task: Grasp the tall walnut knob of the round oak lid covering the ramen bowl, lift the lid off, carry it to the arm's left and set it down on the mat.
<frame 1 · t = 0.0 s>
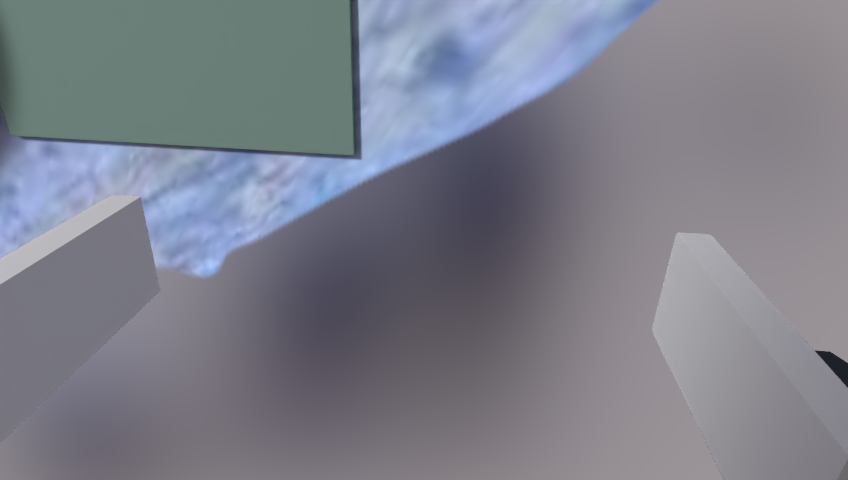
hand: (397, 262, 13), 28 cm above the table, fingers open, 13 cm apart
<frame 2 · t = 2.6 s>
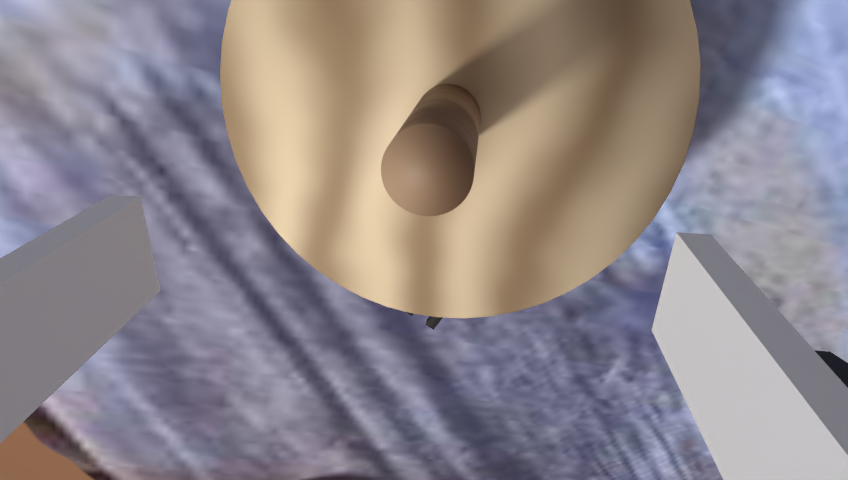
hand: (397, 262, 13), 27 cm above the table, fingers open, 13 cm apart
lid: (449, 113, 31), point 8 cm above the table, touching ramen bowl
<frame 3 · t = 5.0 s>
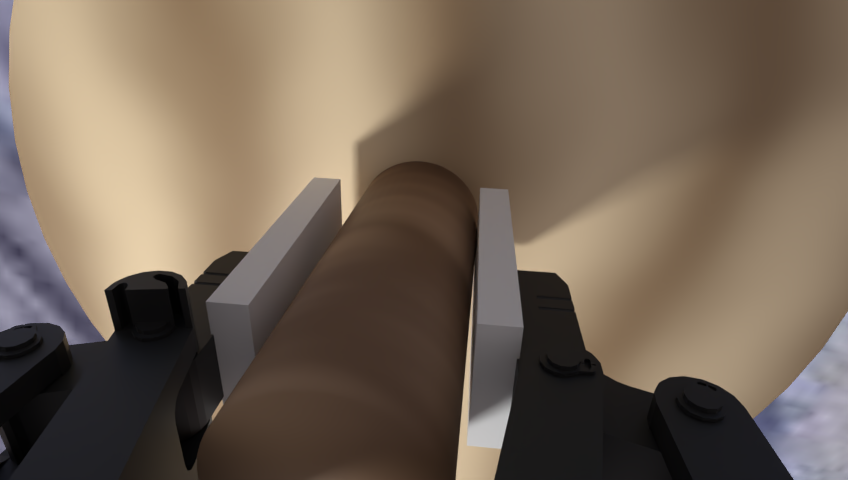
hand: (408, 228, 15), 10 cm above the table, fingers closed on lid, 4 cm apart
lid: (422, 206, 17), point 8 cm above the table, touching gripper, ramen bowl
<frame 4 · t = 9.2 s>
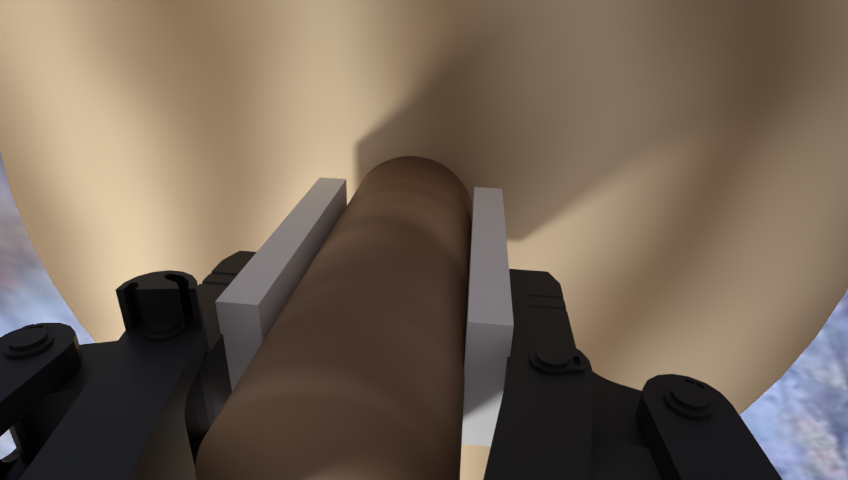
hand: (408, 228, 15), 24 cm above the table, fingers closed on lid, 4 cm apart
lid: (416, 201, 17), point 22 cm above the table, touching gripper
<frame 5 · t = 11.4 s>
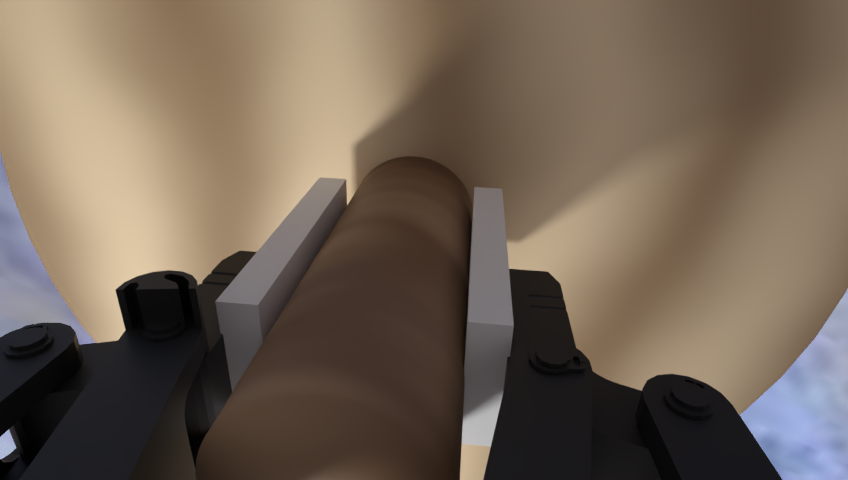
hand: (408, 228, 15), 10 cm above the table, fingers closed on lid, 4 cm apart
lid: (416, 202, 17), point 8 cm above the table, touching gripper
when the fingers open (5 cm above the table, at t = 13.2 s): lid drops 2 cm, resting on mat.
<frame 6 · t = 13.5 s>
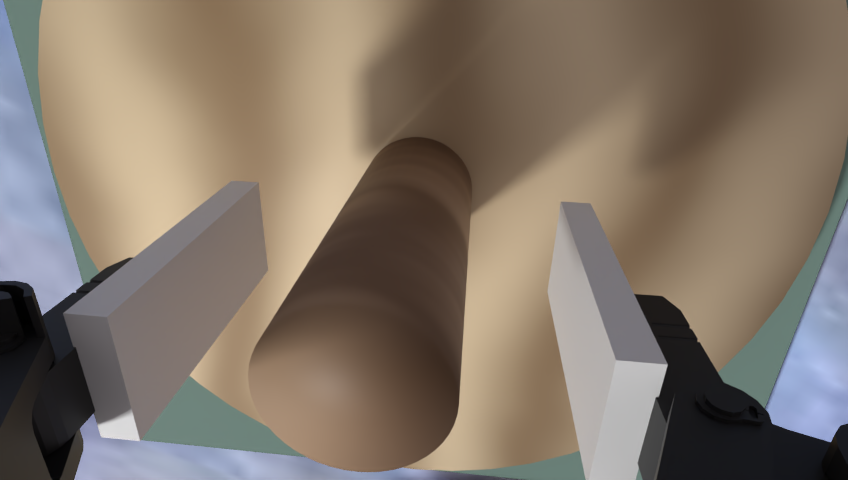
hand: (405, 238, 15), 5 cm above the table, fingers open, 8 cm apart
lid: (421, 180, 19), point 1 cm above the table, touching mat
mat: (424, 176, 20), on the table
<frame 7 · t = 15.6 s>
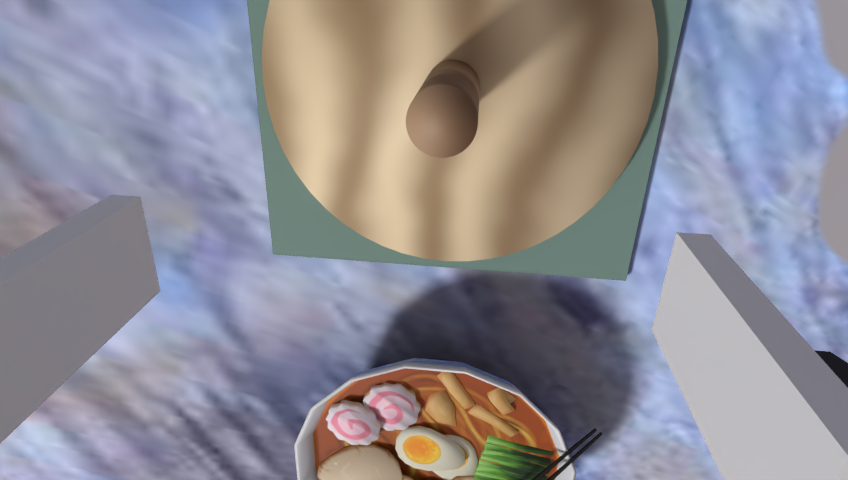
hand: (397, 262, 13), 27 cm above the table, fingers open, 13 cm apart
lid: (453, 85, 37), point 1 cm above the table, touching mat
mat: (454, 84, 37), on the table
ramen bowl: (438, 412, 50), on the table
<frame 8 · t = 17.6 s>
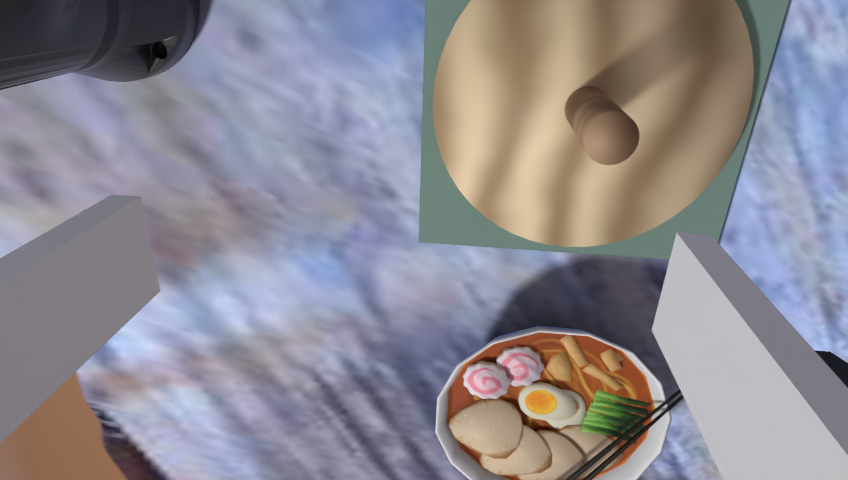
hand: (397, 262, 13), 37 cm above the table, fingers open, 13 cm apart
lid: (584, 105, 46), point 1 cm above the table, touching mat
mat: (584, 105, 47), on the table
ramen bowl: (542, 376, 60), on the table
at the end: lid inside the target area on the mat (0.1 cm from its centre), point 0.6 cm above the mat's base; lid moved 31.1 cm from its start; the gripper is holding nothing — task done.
